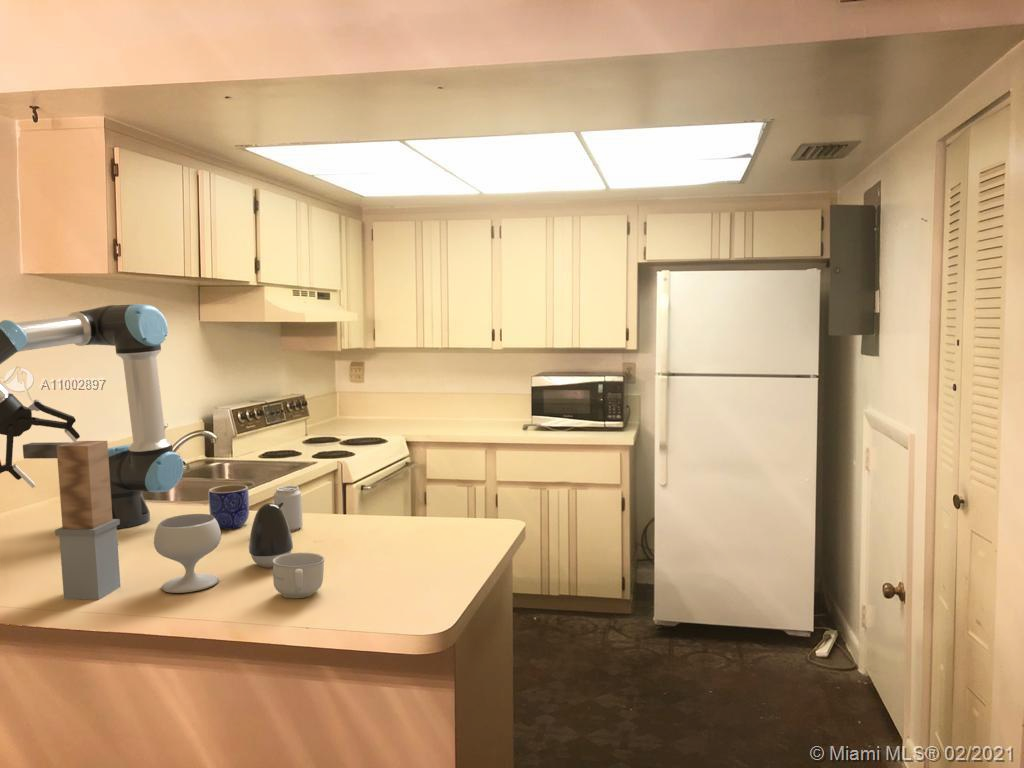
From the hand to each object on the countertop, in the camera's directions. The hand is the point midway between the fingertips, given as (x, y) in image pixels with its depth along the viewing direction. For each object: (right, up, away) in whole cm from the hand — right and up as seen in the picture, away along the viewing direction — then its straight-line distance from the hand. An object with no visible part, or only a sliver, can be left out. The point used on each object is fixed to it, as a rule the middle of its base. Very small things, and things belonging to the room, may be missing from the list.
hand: (59, 467), depth 192 cm
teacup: (+66, -25, -24) cm, 74 cm away
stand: (+19, -26, -19) cm, 37 cm away
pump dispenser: (+53, -24, -2) cm, 58 cm away
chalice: (+39, -25, -16) cm, 49 cm away
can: (+48, -21, +30) cm, 61 cm away
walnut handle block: (+14, -10, -20) cm, 27 cm away
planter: (+30, -21, +35) cm, 50 cm away
